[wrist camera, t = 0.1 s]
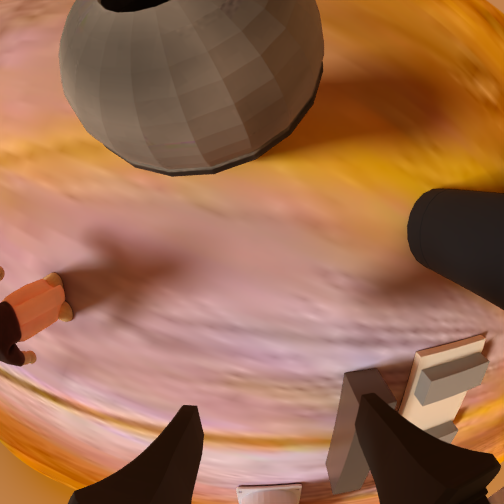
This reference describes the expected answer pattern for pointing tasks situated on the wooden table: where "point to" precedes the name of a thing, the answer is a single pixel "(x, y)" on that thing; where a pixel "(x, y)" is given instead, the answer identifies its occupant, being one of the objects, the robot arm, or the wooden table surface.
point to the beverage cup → (191, 77)
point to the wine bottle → (461, 238)
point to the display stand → (442, 385)
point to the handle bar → (352, 430)
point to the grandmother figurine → (30, 316)
